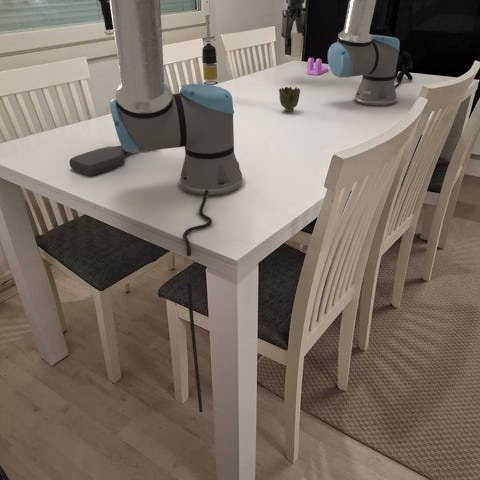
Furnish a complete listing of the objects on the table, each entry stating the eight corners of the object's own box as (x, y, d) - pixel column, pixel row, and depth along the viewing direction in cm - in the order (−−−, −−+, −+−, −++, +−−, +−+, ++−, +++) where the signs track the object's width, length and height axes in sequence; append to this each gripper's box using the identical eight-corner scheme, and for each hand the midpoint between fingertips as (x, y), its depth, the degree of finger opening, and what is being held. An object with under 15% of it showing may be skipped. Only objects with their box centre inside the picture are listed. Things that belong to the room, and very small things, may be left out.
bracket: (317, 75, 212) (318, 59, 208) (306, 73, 215) (307, 58, 211) (329, 70, 221) (331, 55, 217) (319, 69, 223) (320, 54, 220)
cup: (275, 113, 160) (275, 90, 156) (283, 107, 165) (284, 85, 161) (294, 115, 157) (295, 92, 153) (302, 110, 162) (303, 87, 158)
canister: (304, 56, 190) (305, 33, 186) (290, 57, 188) (290, 35, 184) (296, 54, 196) (297, 32, 191) (282, 55, 193) (283, 33, 189)
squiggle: (400, 92, 202) (376, 71, 205) (417, 76, 202) (392, 56, 205) (405, 81, 191) (380, 59, 194) (423, 64, 191) (397, 42, 194)
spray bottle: (67, 168, 120) (139, 144, 136) (91, 178, 114) (163, 151, 130) (65, 157, 118) (137, 134, 134) (89, 167, 112) (162, 142, 128)
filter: (220, 99, 177) (217, 15, 161) (206, 100, 176) (202, 16, 160) (215, 96, 182) (212, 14, 166) (202, 97, 180) (197, 14, 164)
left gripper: (163, -69, 102) (172, 32, 114) (93, -64, 115) (107, 26, 126) (139, -71, 97) (151, 36, 108) (68, -65, 110) (85, 29, 121)
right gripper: (303, -9, 188) (300, 49, 200) (272, -7, 176) (271, 55, 188) (317, -9, 183) (314, 51, 195) (287, -7, 171) (285, 57, 183)
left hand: (127, 31), depth 117 cm, fingers open, 13 cm apart
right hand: (293, 53), depth 191 cm, fingers closed on canister, 7 cm apart
